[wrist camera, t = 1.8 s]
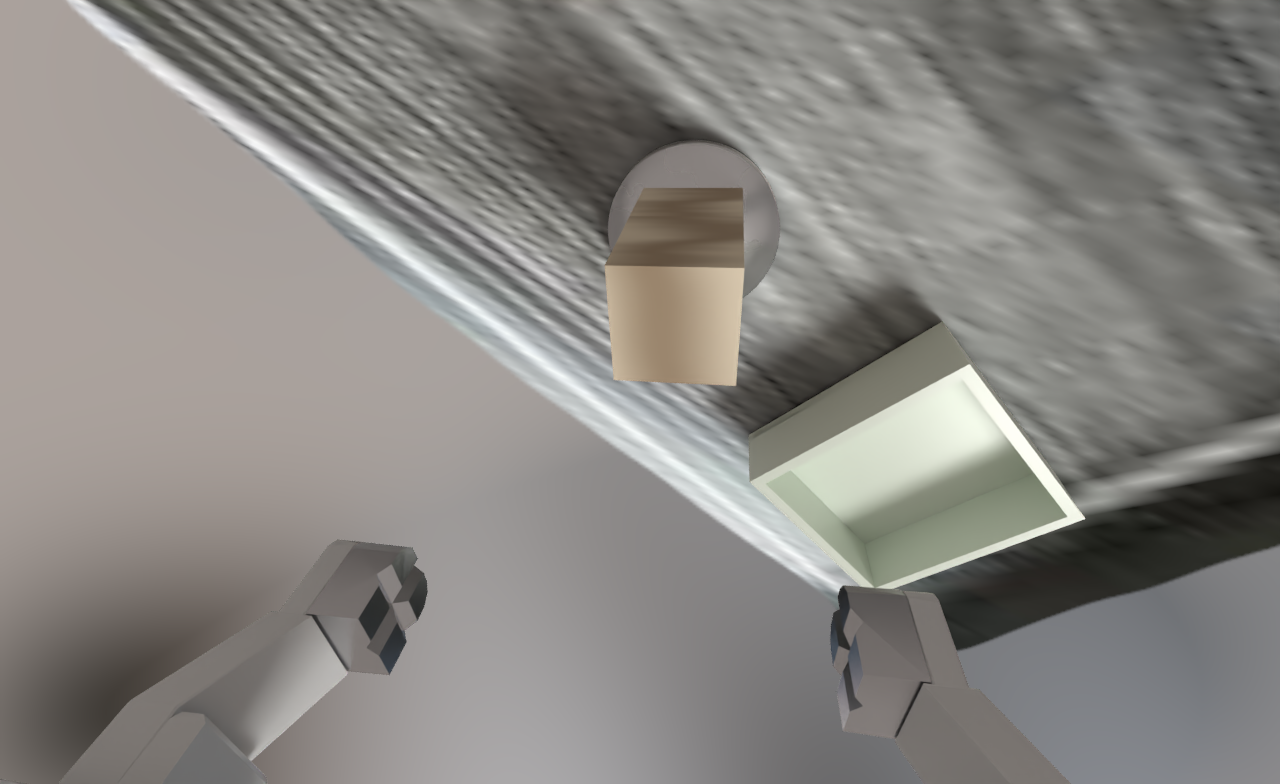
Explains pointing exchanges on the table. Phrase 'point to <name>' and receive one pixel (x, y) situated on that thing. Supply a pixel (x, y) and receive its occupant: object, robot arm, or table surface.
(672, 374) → the tan rectangular block
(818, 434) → the bin
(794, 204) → the table surface
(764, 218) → the grey pot lid
